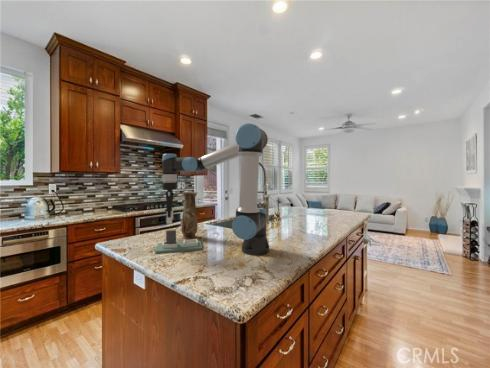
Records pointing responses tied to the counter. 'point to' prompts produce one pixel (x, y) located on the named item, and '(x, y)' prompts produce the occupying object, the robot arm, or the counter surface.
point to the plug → (171, 236)
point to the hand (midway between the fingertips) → (170, 221)
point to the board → (179, 246)
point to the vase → (189, 216)
